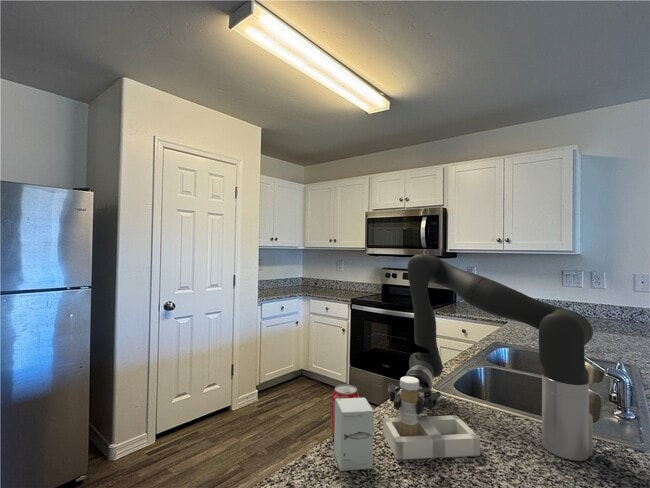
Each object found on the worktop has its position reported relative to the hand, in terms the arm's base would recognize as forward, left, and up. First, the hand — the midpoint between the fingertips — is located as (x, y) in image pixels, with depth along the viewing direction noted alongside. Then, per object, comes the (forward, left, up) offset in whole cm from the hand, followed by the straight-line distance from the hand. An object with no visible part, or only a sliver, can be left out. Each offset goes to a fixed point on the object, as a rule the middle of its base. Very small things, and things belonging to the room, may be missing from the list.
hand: (407, 408), depth 80 cm
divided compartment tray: (-6, -2, -10) cm, 12 cm away
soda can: (+14, -7, -10) cm, 18 cm away
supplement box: (+14, +3, -10) cm, 17 cm away
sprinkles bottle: (-1, -2, -8) cm, 8 cm away
